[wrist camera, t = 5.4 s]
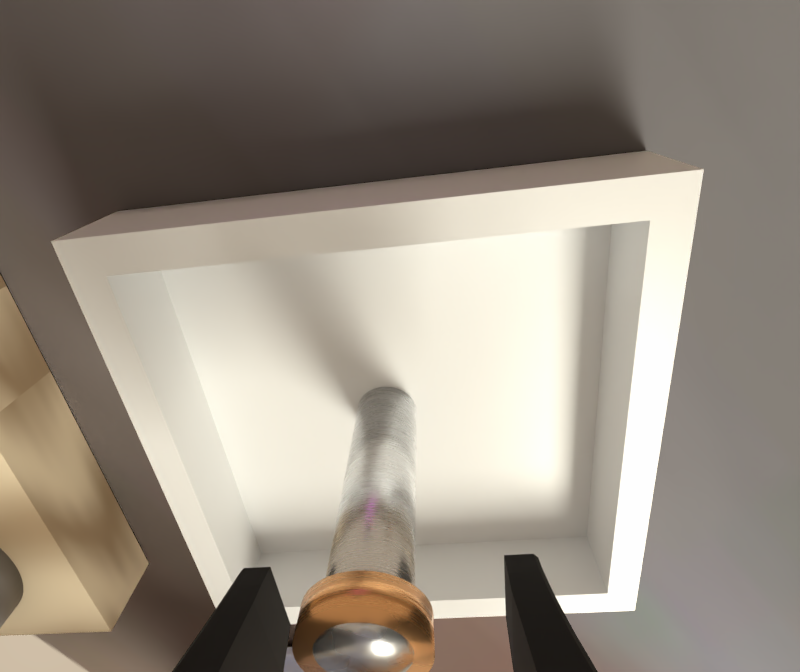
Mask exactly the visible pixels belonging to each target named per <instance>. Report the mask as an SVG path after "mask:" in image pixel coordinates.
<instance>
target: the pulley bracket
mask: <svg viewBox="0 0 800 672" xmlns="http://www.w3.org/2000/svg"><path fill="white" fill-rule="evenodd" d="M148 564H149V563H148V561H147V559H146V557H145V555H144V553H143V551H142V549H141V547H140V545H139V544H138V542H137V540H136V538H135V536H134V534H133V532H132V530H131V528H130V526H129V524H128V522H127V520H126V518H125V516H124V514H123V512H122V510H121V508H120V506H119V505H118V503H117V501H116V499H115V497H114V495H113V493H112V491H111V489H110V487H109V485H108V483H107V481H106V479H105V477H104V475H103V473H102V471H101V469H100V467H99V465H98V464H97V462H96V460H95V458H94V456H93V454H92V452H91V450H90V448H89V446H88V444H87V442H86V440H85V438H84V436H83V434H82V432H81V430H80V428H79V426H78V425H77V423H76V421H75V419H74V417H73V415H72V413H71V411H70V409H69V407H68V405H67V403H66V401H65V399H64V397H63V395H62V393H61V391H60V389H59V387H58V386H57V384H56V382H55V380H54V378H53V376H52V374H51V372H50V370H49V368H48V366H47V364H46V362H45V360H44V358H43V356H42V354H41V352H40V350H39V348H38V346H37V345H36V343H35V341H34V339H33V337H32V335H31V333H30V331H29V329H28V327H27V325H26V323H25V321H24V319H23V317H22V315H21V313H20V311H19V309H18V307H17V306H16V304H15V302H14V300H13V298H12V296H11V294H10V292H9V290H8V288H7V286H6V284H5V282H4V280H3V278H2V276H1V274H0V636H5V635H31V634H56V633H81V632H107V631H112V629H113V627H114V626H115V624H116V622H117V620H118V618H119V617H120V615H121V613H122V611H123V609H124V608H125V606H126V604H127V602H128V600H129V599H130V597H131V595H132V593H133V591H134V590H135V588H136V586H137V584H138V582H139V581H140V579H141V577H142V575H143V573H144V572H145V570H146V568H147V566H148Z"/></svg>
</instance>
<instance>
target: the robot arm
mask: <svg viewBox="0 0 800 672" xmlns="http://www.w3.org/2000/svg"><path fill="white" fill-rule="evenodd" d="M504 573H505V605H506V621H507V628H508V635H509V642H510V649H511V656H512V663H513V670H514V672H597V670H596V668H595V667H594V665H593V663H592V661H591V660H590V658H589V656H588V655H587V653H586V651H585V650H584V648H583V646H582V644H581V643H580V641H579V639H578V638H577V636H576V634H575V632H574V631H573V629H572V627H571V625H570V623H569V622H568V620H567V618H566V616H565V614H564V612H563V610H562V608H561V606H560V604H559V603H558V601H557V599H556V597H555V595H554V592H553V590H552V588H551V586H550V584H549V582H548V580H547V578H546V575H545V573H544V571H543V568H542V566H541V563H540V561H539V558H538V557H537V556H536V555H534V554H517V555H504ZM289 631H290V621H289V619H288V616H287V613H286V610H285V607H284V604H283V601H282V599H281V596H280V593H279V590H278V587H277V584H276V581H275V579H274V576H273V573H272V570H271V567H255V568H244V569H243V570H242V571H241V572H240V573H239V575H238V576H237V578H236V579H235V581H234V582H233V584H232V585H231V587H230V588H229V590H228V591H227V593H226V594H225V596H224V597H223V599H222V600H221V602H220V603H219V605H218V606H217V608H216V609H215V611H214V612H213V614H212V615H211V617H210V618H209V620H208V621H207V623H206V624H205V626H204V627H203V629H202V630H201V632H200V633H199V634H198V636H197V637H196V639H195V640H194V642H193V643H192V644H191V646H190V647H189V649H188V650H187V651H186V653H185V654H184V656H183V657H182V658H181V660H180V661H179V663H178V664H177V665H176V667H175V668H174V670H173V671H172V672H304V671H303V670H302V669H301V668H300V666H299V665H298V664H297V662H296V660H295V658H294V656H293V652H292V647H287V645H288V638H289Z"/></svg>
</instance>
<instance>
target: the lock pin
mask: <svg viewBox="0 0 800 672" xmlns="http://www.w3.org/2000/svg"><path fill="white" fill-rule="evenodd" d="M416 423H417V410H416V405H415V403H414V401H413V399H412V398H411V397H410V396H409V395H408V394H407V393H406V392H404V391H402V390H400V389H398V388H395V387H387V386H386V387H378V388H374V389H372V390H370V391H368V392H367V393H366V394H364V395H363V397H362V398H361V399H360V401H359V404H358V408H357V414H356V419H355V424H354V430H353V435H352V440H351V446H350V451H349V456H348V462H347V467H346V472H345V478H344V483H343V488H342V494H341V499H340V504H339V510H338V515H337V520H336V526H335V531H334V536H333V542H332V547H331V552H330V558H329V563H328V568H327V573H326V578H324V579H322V580H320V581H318V582H317V583H315V584H314V585H313V586H312V587H311V588H310V589H309V590H308V591H307V592H306V594H305V595H304V597H303V600H302V603H301V607H300V611H299V616H298V620H297V625H296V629H295V634H294V638H293V643H292V652H293V656H294V658H295V660H296V662H297V664H298V665H299V666H300V668H301V669H302V670H303V671H304V672H429V671H430V669H431V668H432V665H433V663H434V658H435V651H434V614H433V609H432V605H431V603H430V601H429V600H428V598H427V597H426V595H425V594H424V593H423V592H422V591H421V590H420V589H418V588H417V587H416V586H415V523H416Z"/></svg>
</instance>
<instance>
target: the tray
mask: <svg viewBox="0 0 800 672" xmlns="http://www.w3.org/2000/svg"><path fill="white" fill-rule="evenodd" d="M703 171H704V169H701V168H698V167H695V166H692V165H689V164H686V163H683V162H680V161H677V160H674V159H671V158H668V157H665V156H662V155H659V154H656V153H653V152H650V151H640V152H631V153H622V154H613V155H605V156H596V157H587V158H578V159H570V160H561V161H552V162H543V163H535V164H526V165H517V166H508V167H500V168H491V169H482V170H474V171H465V172H456V173H447V174H439V175H430V176H421V177H412V178H404V179H395V180H386V181H377V182H369V183H360V184H351V185H342V186H334V187H325V188H316V189H307V190H299V191H290V192H281V193H272V194H264V195H255V196H246V197H237V198H229V199H220V200H211V201H202V202H194V203H185V204H176V205H168V206H159V207H150V208H141V209H133V210H124V211H117V212H115V213H113V214H110V215H108V216H106V217H104V218H102V219H99V220H97V221H95V222H93V223H90V224H88V225H86V226H84V227H82V228H79V229H77V230H75V231H73V232H70V233H68V234H66V235H64V236H62V237H59V238H57V239H55V240H53V241H51V243H52V245H53V247H54V249H55V252H56V254H57V256H58V258H59V261H60V263H61V265H62V267H63V269H64V272H65V274H66V276H67V278H68V281H69V283H70V285H71V287H72V289H73V292H74V294H75V296H76V298H77V301H78V303H79V305H80V307H81V310H82V312H83V314H84V316H85V318H86V321H87V323H88V325H89V327H90V330H91V332H92V334H93V336H94V338H95V341H96V343H97V345H98V347H99V350H100V352H101V354H102V356H103V358H104V361H105V363H106V365H107V367H108V370H109V372H110V374H111V376H112V379H113V381H114V383H115V385H116V387H117V390H118V392H119V394H120V396H121V399H122V401H123V403H124V405H125V407H126V410H127V412H128V414H129V416H130V419H131V421H132V423H133V425H134V428H135V430H136V432H137V434H138V436H139V439H140V441H141V443H142V445H143V448H144V450H145V452H146V454H147V456H148V459H149V461H150V463H151V465H152V468H153V470H154V472H155V474H156V476H157V479H158V481H159V483H160V485H161V488H162V490H163V492H164V494H165V497H166V499H167V501H168V503H169V505H170V508H171V510H172V512H173V514H174V517H175V519H176V521H177V523H178V525H179V528H180V530H181V532H182V534H183V537H184V539H185V541H186V543H187V546H188V548H189V550H190V552H191V554H192V557H193V559H194V561H195V563H196V566H197V568H198V570H199V572H200V574H201V577H202V579H203V581H204V583H205V586H206V588H207V590H208V592H209V595H210V597H211V599H212V601H213V603H214V606H215V608H217V606H218V605H219V603H220V602H221V600H222V599H223V597H224V596H225V594H226V593H227V591H228V590H229V588H230V587H231V585H232V584H233V582H234V581H235V579H236V578H237V576H238V575H239V573H240V572H241V571H242V570H243V569H244V568H255V567H271V570H272V573H273V576H274V579H275V581H276V584H277V587H278V590H279V593H280V596H281V599H282V601H283V604H284V607H285V610H286V613H287V616H288V619H289V621H290V624H297V620H298V616H299V611H300V607H301V603H302V600H303V597H304V595H305V594H306V592H307V591H308V590H309V589H310V588H311V587H312V586H313V585H314V584H315V583H317V582H318V581H320V580H322V579H324V578H326V573H327V568H328V563H329V558H330V552H331V547H332V542H333V536H334V531H335V526H336V520H337V515H338V510H339V504H340V499H341V494H342V488H343V483H344V478H345V472H346V467H347V462H348V456H349V451H350V446H351V440H352V435H353V430H354V424H355V419H356V414H357V408H358V404H359V401H360V399H361V398H362V397H363V395H364V394H366V393H367V392H368V391H370V390H372V389H374V388H378V387H386V386H387V387H395V388H398V389H400V390H402V391H404V392H406V393H407V394H408V395H409V396H410V397H411V398H412V399H413V401H414V403H415V405H416V410H417V423H416V523H415V586H416V587H417V588H418V589H420V590H421V591H422V592H423V593H424V594H425V595H426V597H427V598H428V600H429V601H430V603H431V605H432V609H433V614H434V619H436V618H461V617H486V616H506V605H505V573H504V555H517V554H534V555H536V556H537V557H538V558H539V561H540V563H541V566H542V568H543V571H544V573H545V575H546V578H547V580H548V582H549V584H550V586H551V588H552V590H553V592H554V595H555V597H556V599H557V601H558V603H559V604H560V606H561V608H562V610H563V612H564V613H588V612H613V611H635V606H636V600H637V593H638V587H639V580H640V574H641V568H642V561H643V555H644V548H645V542H646V536H647V529H648V523H649V516H650V510H651V504H652V497H653V491H654V484H655V478H656V472H657V465H658V459H659V452H660V446H661V440H662V433H663V427H664V420H665V414H666V408H667V401H668V395H669V388H670V382H671V376H672V369H673V363H674V356H675V350H676V344H677V337H678V331H679V324H680V318H681V312H682V305H683V299H684V292H685V286H686V280H687V273H688V267H689V260H690V254H691V247H692V241H693V235H694V228H695V222H696V215H697V209H698V203H699V196H700V190H701V183H702V177H703Z"/></svg>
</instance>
